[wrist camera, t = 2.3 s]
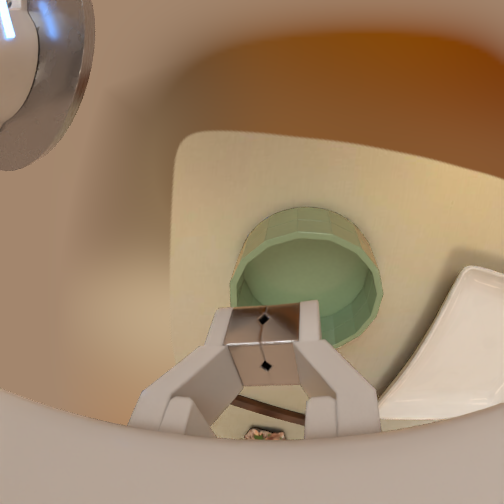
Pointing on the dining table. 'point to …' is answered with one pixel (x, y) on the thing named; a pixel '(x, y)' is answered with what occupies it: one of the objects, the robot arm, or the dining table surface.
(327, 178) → the dining table surface
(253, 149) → the dining table surface
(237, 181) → the dining table surface
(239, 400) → the wooden paddle
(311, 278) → the bowl
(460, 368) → the square plate
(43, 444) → the robot arm
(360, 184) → the dining table surface
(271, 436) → the plant with pod
